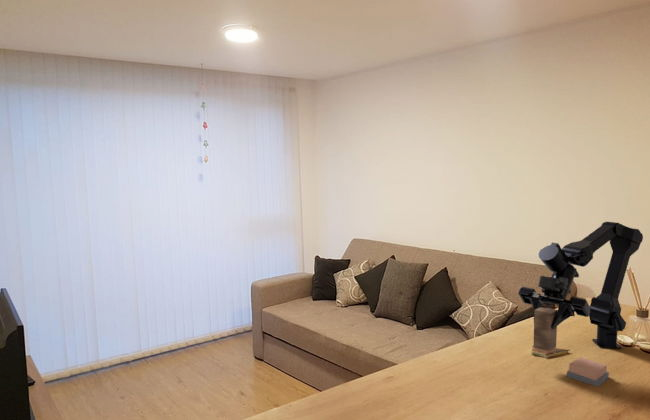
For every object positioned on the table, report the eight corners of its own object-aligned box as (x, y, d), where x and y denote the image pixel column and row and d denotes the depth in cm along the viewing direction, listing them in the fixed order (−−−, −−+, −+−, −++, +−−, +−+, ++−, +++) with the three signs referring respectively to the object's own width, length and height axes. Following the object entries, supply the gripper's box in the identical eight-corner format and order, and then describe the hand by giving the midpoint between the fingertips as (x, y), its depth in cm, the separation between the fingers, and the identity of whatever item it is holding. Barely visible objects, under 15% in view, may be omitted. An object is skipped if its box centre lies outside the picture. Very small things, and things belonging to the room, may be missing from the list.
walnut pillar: (533, 346, 136) (534, 309, 134) (540, 342, 139) (541, 306, 137) (549, 351, 132) (550, 313, 131) (556, 347, 135) (557, 309, 134)
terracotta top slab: (568, 371, 131) (569, 363, 131) (579, 364, 136) (580, 357, 135) (595, 380, 126) (596, 372, 126) (606, 372, 130) (606, 365, 130)
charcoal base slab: (566, 379, 132) (566, 371, 131) (577, 370, 137) (578, 363, 137) (598, 389, 126) (598, 381, 125) (608, 379, 131) (608, 372, 131)
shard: (569, 354, 148) (569, 348, 148) (570, 363, 141) (570, 358, 141) (532, 348, 152) (532, 343, 152) (531, 357, 146) (531, 352, 145)
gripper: (521, 260, 143) (502, 303, 136) (588, 270, 129) (570, 319, 123) (533, 281, 149) (515, 323, 142) (597, 293, 135) (581, 340, 129)
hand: (543, 325), depth 134 cm, fingers closed on walnut pillar, 4 cm apart
